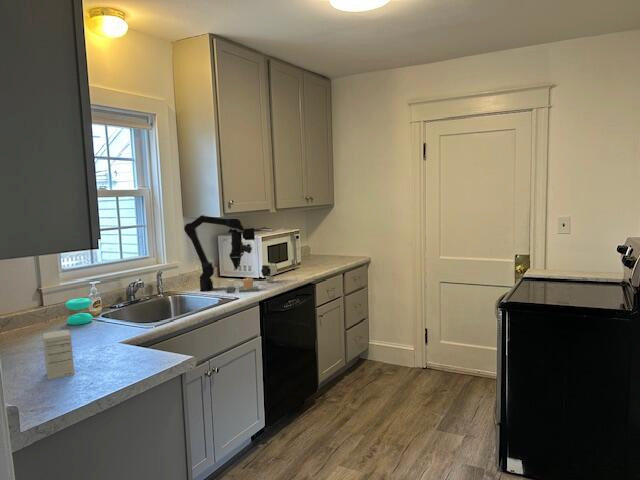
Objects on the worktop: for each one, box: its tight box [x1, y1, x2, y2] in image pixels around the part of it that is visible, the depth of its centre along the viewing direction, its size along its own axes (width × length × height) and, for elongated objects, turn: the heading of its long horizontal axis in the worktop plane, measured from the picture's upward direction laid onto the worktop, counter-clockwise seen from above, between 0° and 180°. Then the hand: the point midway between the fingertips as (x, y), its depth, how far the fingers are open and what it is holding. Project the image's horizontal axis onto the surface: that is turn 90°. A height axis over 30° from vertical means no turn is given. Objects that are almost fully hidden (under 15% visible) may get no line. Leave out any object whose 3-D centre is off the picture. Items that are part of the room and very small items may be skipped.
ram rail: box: [225, 285, 236, 294], centre depth 265 cm, size 3×14×3 cm, turn 5°
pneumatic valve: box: [260, 262, 278, 284], centre depth 284 cm, size 6×12×12 cm, turn 157°
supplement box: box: [42, 329, 75, 381], centre depth 144 cm, size 7×7×13 cm
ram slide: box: [227, 279, 235, 287], centre depth 269 cm, size 3×3×4 cm
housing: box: [242, 277, 254, 289], centre depth 262 cm, size 5×5×6 cm
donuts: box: [65, 297, 94, 326], centre depth 206 cm, size 10×10×10 cm
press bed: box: [238, 286, 259, 293], centre depth 263 cm, size 10×8×1 cm
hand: (237, 267), depth 270 cm, fingers open, 9 cm apart
